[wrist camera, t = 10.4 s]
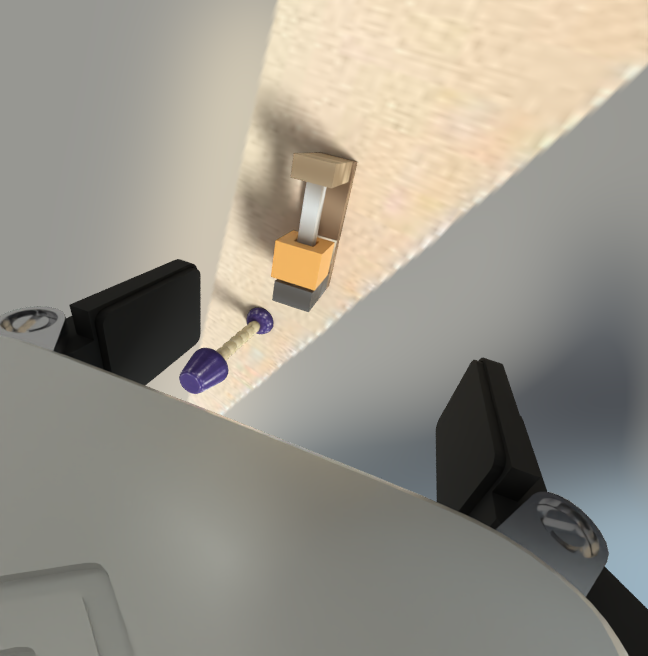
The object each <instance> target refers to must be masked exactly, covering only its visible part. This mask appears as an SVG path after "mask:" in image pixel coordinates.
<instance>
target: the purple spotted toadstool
mask: <svg viewBox="0 0 648 656" xmlns="http://www.w3.org/2000/svg"><path fill="white" fill-rule="evenodd" d="M272 328H273V318H272V316H271V314H270V313H269V312H268V311H266V310H265V309H263V308H253V309H252V310H250V312H249V313H248V315H247V326H245V327H244V328H243V329H242V330H241V331H239V332H238V333H237V334H236V335H235V336H233V337H232V338H231V339H230V340H229V341H228V342H226V343H225V344H224V345H223V346H222V347H221V348H219V349H218V350H217V351H215V350H213V349H210V348H201V349H199V350H197V351H196V352H195V353H194V354H193V356H192V357H191V358H190V360H189V361H188V363H187V364H186V366H185V367H184V369H183V370H182V372H181V374H180V377H179V379H180V383H181V385H182V387H183V388H184V389H185V390H187V391H188V392H190V393H193V394H198V393H201V392H203V391H205V390H207V389H209V388H211V387H213V386H215V385H216V384H218V383H220V382H222V381H223V380H224V379H225V378H226V377H227V375H228V365H227V363H226V360H228V359H229V357H230V356H231V355H233V354H234V353H235V352H236V350H237V349H239V348H240V347H241V346H242V345H243V344H244V343H246V342H247V341H248V339H250V338H251V337H252V336H253V335H254V334H255V333H257V334H265V333H268V332H269V331H271V329H272Z"/></svg>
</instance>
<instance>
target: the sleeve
mask: <svg viewBox="0 0 648 656" xmlns="http://www.w3.org/2000/svg"><path fill="white" fill-rule="evenodd" d="M297 239H298V231H295V230H293V231H291V232H289V233H288V234H286V235H284V236H282V237H281V238H279V239H277V240H276V241H275V249H274V257H273V265H272V273H271V277H274V278H277V279H280V280H283V281H286V282H289V283H292V284H296V285H299V286H302V287H305V288H308V289H311V290H314V291H315V290H316V288H317V287H318V286H319V285H320V284H321V282H322V281H323V280H324V279H325V278H326V276H327V275H328V271H329V267H330V262H331V258H332V253H333V249H334V244H335V242H332V241H329V240H325V239H322V238H318V237H317V240H316V245H315V246H314V247H312V246H309V245H305V244H302V243H298V242H297Z"/></svg>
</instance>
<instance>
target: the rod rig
mask: <svg viewBox="0 0 648 656" xmlns="http://www.w3.org/2000/svg"><path fill="white" fill-rule="evenodd" d="M356 166H357V162H356V161H352V160H348V159H344V158H340V157H336V156H332V155H328V154H324V153H320V152H316V153H294V155H293V163H292V170H291V178H294V179H298V180H302V181H306V189H305V195H304V201H303V207H302V214H301V220H300V226H299V232H298V239H297V242H298V243H302V244H305V245H309V246H312V247H314V246H315V245H316V240H317V237H318V238H322V239H325V240H329V241H332V242H335V244H334V249H333V253H332V258H331V262H330V267H329V271H328V275H327V276H326V278H325V279H324V280H323V281H322V282H321V284H320V285H319V286H318V287H317V288H316V290H315V291H314V290H311V289H308V288H305V287H302V286H299V285H296V284H292V283H289V282H286V281H283V280H280V279H277V280H276V281H275V284H274V291H273V299H272V300H273V301H276V302H279V303H282V304H285V305H288V306H291V307H294V308H297V309H300V310H303V311H306V312H309V311H310V310H311V308H312V307H313V306H314V304H315V303H316V302H317V301H318V299H319V298H320V297H321V295H322V294H323V293H324V291H325V290H326V289H327V287H328V286H329V283H330V279H331V275H332V270H333V266H334V262H335V257H336V253H337V249H338V244H339V240H340V236H341V231H342V227H343V222H344V218H345V214H346V209H347V205H348V201H349V196H350V192H351V188H352V183H353V179H354V175H355V170H356Z"/></svg>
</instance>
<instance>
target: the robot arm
mask: <svg viewBox="0 0 648 656" xmlns="http://www.w3.org/2000/svg"><path fill="white" fill-rule="evenodd" d="M70 309H71V313H72V316H71V317H68V318H66V317H65V314H64V313H63V312H62V311H60V310H58V309H56V308H51V307H41V306H37V307H26V308H21V309H16V310H13V311H10V312H7V313H5V314H3V315H1V316H0V656H648V609H647V608H646V607H645V606H644V605H643V604H642V603H641V602H640V601H639V600H638V599H637V598H636V597H635V596H634V595H633V594H632V593H631V592H630V591H629V590H628V589H627V588H625V586H624V585H623V584H622V583H620V582H619V580H618V579H617V578H616V577H615V576H614V575H613V574H612V573H611V572H610V571H608V569H607V568H606V567H605V564H606V563H607V560H608V555H609V552H608V548H607V543H606V541H605V539H604V538H603V535H602V533H601V532H600V530H599V529H598V528H597V526H596V525H595V524H594V523H593V521H592V520H591V519H590V518H589V517H588V516H587V515H586V514H585V513H584V512H583V511H582V510H581V509H580V508H578V507H577V506H576V505H574V504H573V503H572V502H570V501H569V500H567V499H565V498H563V497H561V496H559V495H557V494H554V493H551V492H547V489H546V487H545V484H544V481H543V478H542V475H541V472H540V469H539V466H538V463H537V460H536V457H535V454H534V451H533V448H532V446H531V442H530V440H529V436H528V433H527V430H526V428H525V424H524V421H523V419H522V417H521V416H520V414H519V411H518V408H517V405H516V402H515V399H514V396H513V393H512V390H511V387H510V384H509V381H508V378H507V375H506V372H505V370H504V366H503V364H501V363H497V362H495V361H492V360H488V359H486V358H481V359H480V360H479V361H477V360H473V361H472V362H471V363H470V365H469V367H468V369H467V371H466V372H465V374H464V376H463V378H462V379H461V381H460V383H459V385H458V386H457V388H456V390H455V392H454V394H453V395H452V397H451V399H450V401H449V403H448V404H447V406H446V408H445V410H444V411H443V413H442V415H441V417H440V418H439V420H438V423H437V427H436V473H437V476H436V478H437V502H435V501H433V500H431V499H428V498H426V497H424V496H422V495H419V494H417V493H414V492H412V491H409V490H407V489H404V488H402V487H399V486H397V485H394V484H392V483H389V482H387V481H385V480H382V479H380V478H378V477H375V476H373V475H370V474H368V473H365V472H363V471H360V470H358V469H355V468H353V467H350V466H348V465H345V464H343V463H340V462H338V461H335V460H332V459H330V458H328V457H325V456H323V455H320V454H318V453H315V452H313V451H310V450H307V449H305V448H303V447H300V446H298V445H295V444H293V443H290V442H287V441H285V440H283V439H280V438H278V437H275V436H272V435H270V434H267V433H265V432H262V431H260V430H257V429H255V428H252V427H250V426H247V425H244V424H242V423H240V422H237V421H234V420H232V419H229V418H227V417H224V416H222V415H219V414H217V413H214V412H212V411H209V410H206V409H204V408H201V407H199V406H196V405H194V404H191V403H189V402H186V401H183V400H181V399H178V398H176V397H173V396H171V395H168V394H165V393H163V392H160V391H158V390H155V389H152V388H150V387H147V386H145V385H146V384H147V383H149V382H150V381H151V380H153V379H154V378H155V377H156V376H157V375H159V374H160V373H161V372H162V371H164V370H165V369H166V368H167V367H168V366H170V365H171V364H172V363H173V362H175V361H176V360H177V359H178V358H179V357H180V356H182V355H183V354H184V353H186V352H187V351H188V350H189V349H190V348H192V347H193V346H194V345H195V344H196V343H197V342H198V340H199V338H200V272H199V270H197V268H196V266H195V265H194V264H192V263H189V262H185V261H182V260H179V259H177V260H174V261H172V262H169V263H167V264H165V265H162V266H160V267H157V268H155V269H153V270H151V271H148V272H146V273H143V274H141V275H139V276H136V277H134V278H131V279H129V280H127V281H124V282H122V283H120V284H117V285H115V286H113V287H110V288H108V289H106V290H103V291H101V292H99V293H96V294H94V295H92V296H89V297H87V298H85V299H82V300H80V301H77V302H75V303H73V304H71V305H70Z"/></svg>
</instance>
